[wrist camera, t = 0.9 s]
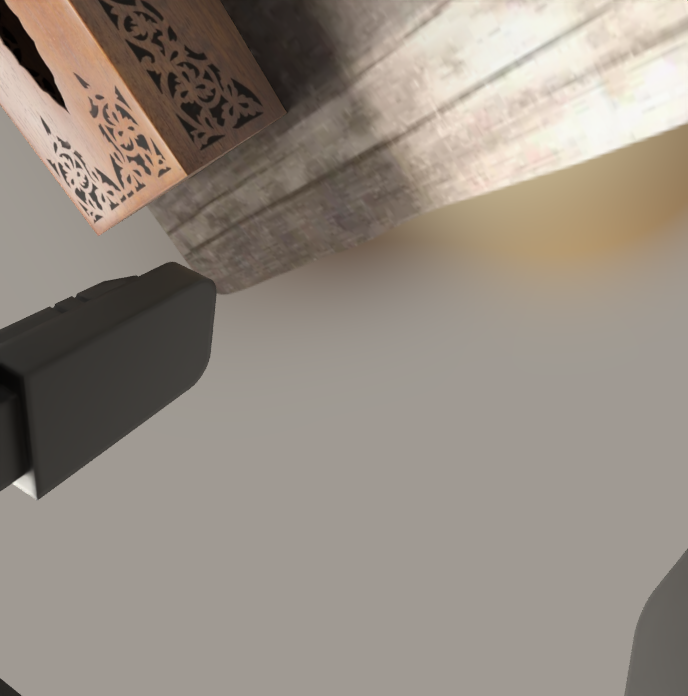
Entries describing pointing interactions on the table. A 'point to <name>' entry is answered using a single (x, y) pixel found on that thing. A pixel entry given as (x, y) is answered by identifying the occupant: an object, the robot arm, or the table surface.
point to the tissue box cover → (128, 94)
